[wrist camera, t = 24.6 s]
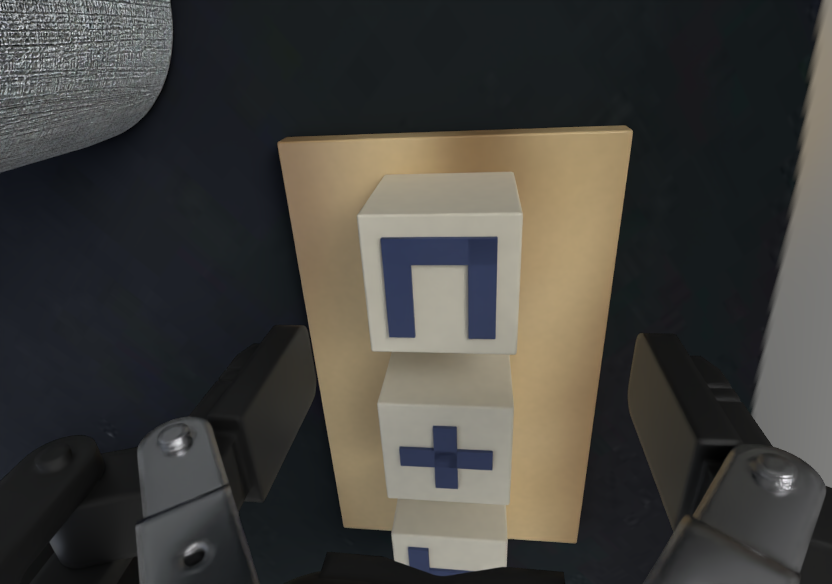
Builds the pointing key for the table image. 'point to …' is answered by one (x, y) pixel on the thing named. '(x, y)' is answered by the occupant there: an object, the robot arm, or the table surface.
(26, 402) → the table surface
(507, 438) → the plus sign cube
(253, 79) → the table surface
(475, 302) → the tile
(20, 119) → the planter
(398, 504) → the letter t cube
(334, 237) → the board
